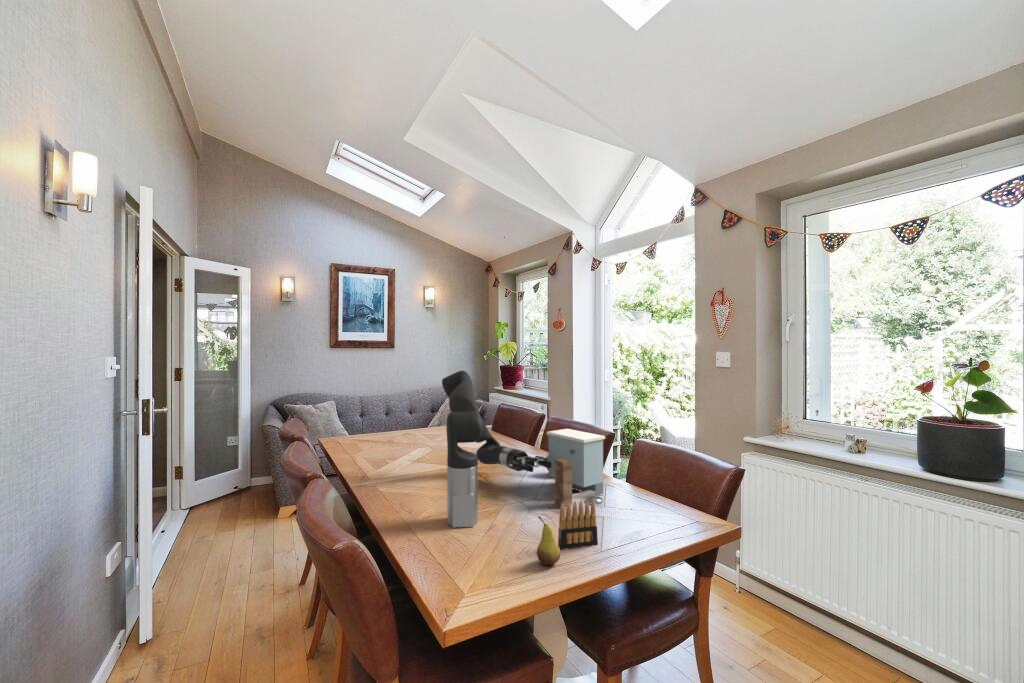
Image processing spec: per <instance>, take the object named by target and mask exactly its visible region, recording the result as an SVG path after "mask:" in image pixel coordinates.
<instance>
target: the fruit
mask: <svg viewBox="0 0 1024 683" xmlns="http://www.w3.org/2000/svg"><path fill="white" fill-rule="evenodd" d="M537 518H538V519H539V520H541V522H542V523H543V527H542V531H541V532H542V533H541V539H540V542H539V544H538V546H537V549H536V556H537V559H538V561H539V563H540V564H543V565H545V566H553V565H555V564H557V562H558V561H559V560H560V558H561V549H560V548H559V546H558V542H557V541H556V537H555V534H554V530H553V528H552V527H551V525H549V524H548V523H546V522H545V521H544V520H543V519H542V518H541V516H540V515H539V516H538V517H537Z"/></svg>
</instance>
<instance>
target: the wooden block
mask: <svg viewBox="0 0 1024 683" xmlns="http://www.w3.org/2000/svg"><path fill="white" fill-rule="evenodd" d="M591 496H595V491H592V490H586V491H582V492H580V491H577V492H576V493H573V489H572V461H571V460H567V459H559V460H555V478H554V506H556V505H558V506H560V507H561V503H562V502H563V504H564V509H565V507H567V504H568V502H569V503H570V505H573V504H574V501H576V503H580V501H582V502H583V501H586V500H588V497H591ZM583 503H584V502H583ZM558 506H557V507H558ZM560 507H559V508H560Z"/></svg>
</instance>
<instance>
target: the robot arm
mask: <svg viewBox="0 0 1024 683" xmlns="http://www.w3.org/2000/svg"><path fill="white" fill-rule="evenodd" d="M441 384H442V388H443V391H444V392H445V395H446V396H447V398H448V406H449V411H450V412H449V413H448V415H447V416H446V441H447V442H446V444H447V457H446V458H447V461H446V462H447V465H446V466H447V468H446V471H447V472H446V475H447V477H446V487H447V488H446V493H447V494H446V496H447V497H446V503H447V504H446V510H447V512H446V513H447V514H446V516H447V517H446V518H447V520H446V521H447V525H449V526H451V528H453V529H455V528H456V527H457V528H471V527H474V525H476V524H478V522H479V521H478V520H479V518H478V516H479V513H478V512H479V506H478V505H479V503H478V502H479V501H478V498H479V496H478V492H479V489H478V487H479V485H478V484H479V483H478V482H479V478H478V477H479V476H478V473H479V472H478V471H479V465H478V464H479V462H480V463H481V464H484V465H501V466H503V467H505V468H508V469H510V470H514V471H517V472H522V471H526V472H530V473H533V472H534V468H539V467H544V468H546V469H547V468H551V462H549V461H547V460H548V458H546V457H544V456H539V455H535V457H534V456H531V455H528V453H527V452H526V451H524V450H521V449H519V448H513V447H508V446H503V445H501V444H500V442H498V440H497V439H496V438H495V437H494V436H493V435H492V433H491V432H490V431H489V429H488V426H487V425H486V422H485V421H484V419H483V417H482V416H481V414H480V411H479V410H478V407H477V401H476V396H475V394H474V391H473V390H474V385H473V381H472V378H471V376H470V374H469V373H468V372H467V371H465V370H459V371H456V372H454V373H452V374H450V375H448V376H446V377H443V379H442V380H441ZM482 442H485V443H483V444H482V445H481V446H480V447H478V449H477V450H476V453H474V452H472V451H468V450H465V449H463V448H461V447H460V446H459V443H460V444H463V443H476V444H479V443H482Z"/></svg>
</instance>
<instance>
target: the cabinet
mask: <svg viewBox="0 0 1024 683" xmlns="http://www.w3.org/2000/svg"><path fill="white" fill-rule="evenodd" d="M546 435H547V436H548V455H549V462H551V468H549V471H548V477H552V478H554V479H555V460H559V459H567V460H571V461H572V488H574V489H577V490H581V491H586V490H592V491H595V496H597V495H600V494H603V495H604V440H605V439H606V436H605V435H602V434H597V433H591V432H587V431H581V430H577V429H571V428H563V429H556V430H550V431H546ZM574 489H573V490H574ZM577 490H576V491H577ZM600 496H601V495H600ZM597 497H598V496H597Z"/></svg>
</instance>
